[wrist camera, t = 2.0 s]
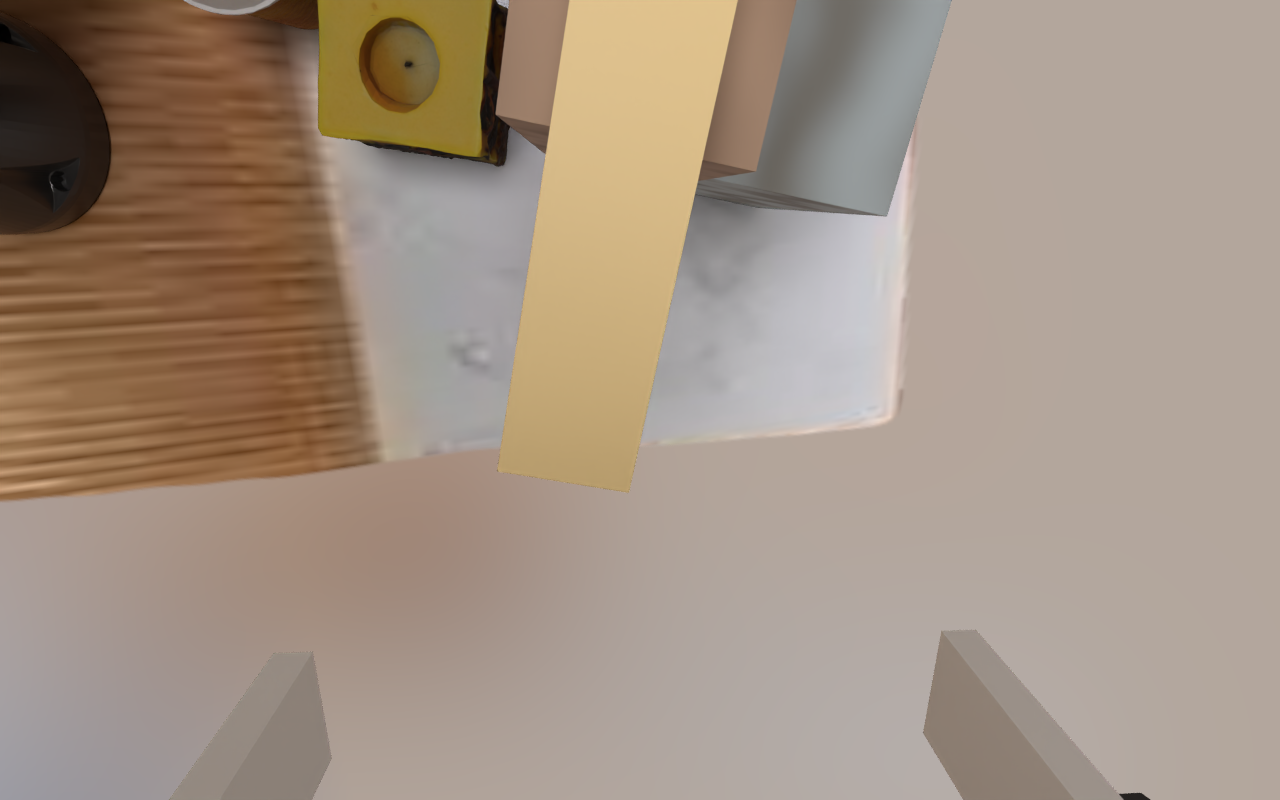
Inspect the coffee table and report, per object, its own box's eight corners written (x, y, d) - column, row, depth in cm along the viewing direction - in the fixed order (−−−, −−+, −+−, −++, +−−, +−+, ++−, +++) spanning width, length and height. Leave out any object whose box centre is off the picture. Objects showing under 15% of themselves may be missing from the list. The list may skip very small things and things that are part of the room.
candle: (519, 21, 46) (498, -24, 37) (508, 168, 49) (486, 161, 40) (374, -4, 45) (314, -57, 36) (372, 148, 48) (316, 136, 39)
